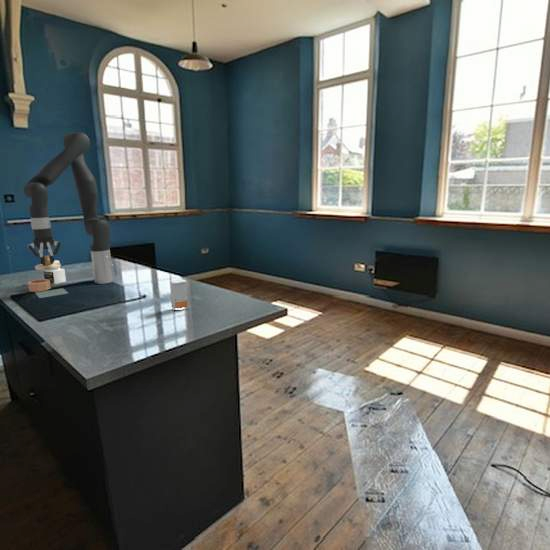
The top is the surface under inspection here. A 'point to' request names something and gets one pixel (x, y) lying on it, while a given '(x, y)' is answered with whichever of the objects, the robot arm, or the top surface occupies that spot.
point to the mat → (51, 293)
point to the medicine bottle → (55, 275)
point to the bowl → (39, 285)
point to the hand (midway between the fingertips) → (47, 264)
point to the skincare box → (179, 293)
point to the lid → (47, 264)
